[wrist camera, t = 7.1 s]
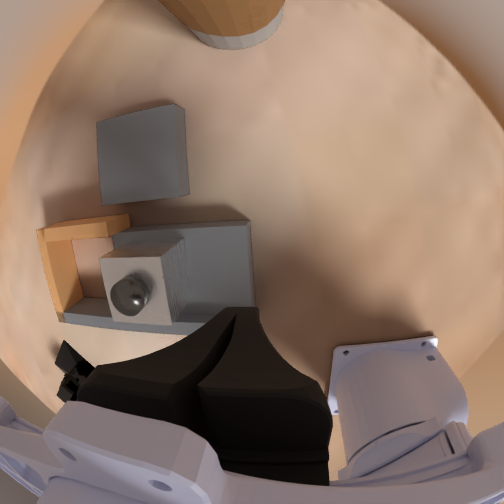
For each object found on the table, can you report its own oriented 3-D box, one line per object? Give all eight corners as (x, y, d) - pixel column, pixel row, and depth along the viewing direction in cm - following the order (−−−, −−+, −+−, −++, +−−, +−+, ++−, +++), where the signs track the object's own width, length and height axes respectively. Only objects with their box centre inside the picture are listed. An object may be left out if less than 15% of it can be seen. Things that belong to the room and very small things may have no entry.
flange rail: (248, 205, 19) (242, 212, 16) (255, 313, 21) (251, 336, 18) (60, 221, 21) (36, 230, 18) (78, 306, 23) (59, 322, 20)
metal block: (184, 238, 18) (152, 262, 13) (192, 296, 19) (166, 334, 14) (130, 240, 19) (88, 263, 14) (140, 295, 20) (105, 329, 15)
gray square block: (184, 109, 18) (174, 103, 16) (189, 194, 19) (179, 197, 17) (111, 124, 18) (96, 122, 16) (116, 201, 20) (102, 205, 18)
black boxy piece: (147, 399, 26) (130, 428, 22) (123, 421, 28) (108, 446, 24) (58, 323, 25) (33, 344, 21) (46, 356, 27) (25, 376, 23)
